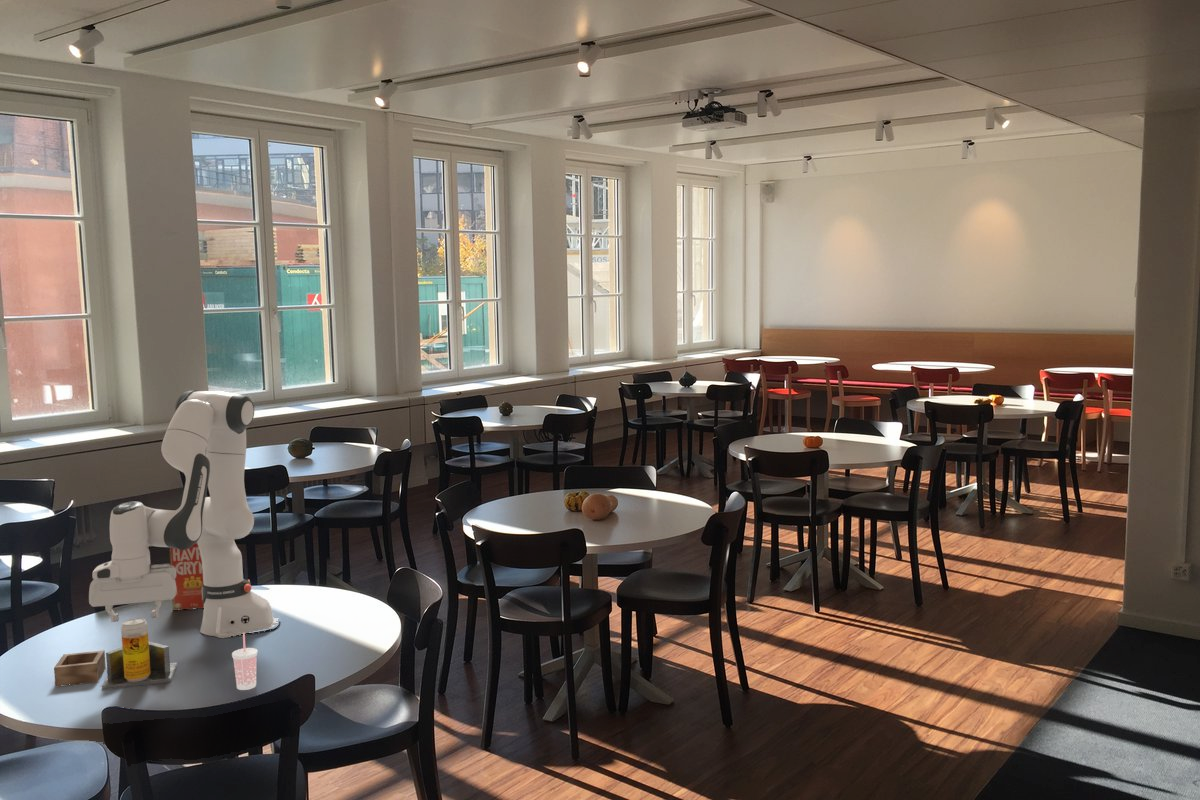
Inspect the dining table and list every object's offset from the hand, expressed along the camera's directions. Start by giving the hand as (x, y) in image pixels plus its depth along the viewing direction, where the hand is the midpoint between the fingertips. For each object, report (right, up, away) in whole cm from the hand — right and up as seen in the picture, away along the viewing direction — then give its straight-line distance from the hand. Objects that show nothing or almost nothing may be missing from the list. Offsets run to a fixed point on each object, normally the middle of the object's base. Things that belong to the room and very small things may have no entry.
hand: (135, 619), depth 250 cm
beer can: (0, -15, +1) cm, 15 cm away
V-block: (0, -16, +4) cm, 16 cm away
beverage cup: (+30, -16, -3) cm, 34 cm away
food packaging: (-11, -10, +64) cm, 65 cm away
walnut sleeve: (-16, -16, +4) cm, 23 cm away
